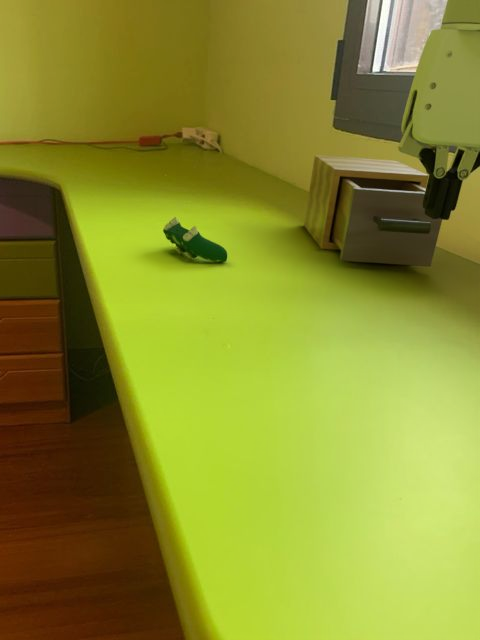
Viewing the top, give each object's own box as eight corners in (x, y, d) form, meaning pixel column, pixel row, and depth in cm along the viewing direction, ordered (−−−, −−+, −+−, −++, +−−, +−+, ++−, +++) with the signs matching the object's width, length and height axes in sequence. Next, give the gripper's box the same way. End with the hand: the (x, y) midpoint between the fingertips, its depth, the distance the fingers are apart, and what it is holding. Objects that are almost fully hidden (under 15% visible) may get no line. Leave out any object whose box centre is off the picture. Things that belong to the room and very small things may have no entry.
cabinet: (410, 254, 98) (428, 175, 93) (321, 248, 98) (334, 168, 93) (381, 231, 112) (396, 160, 107) (303, 225, 112) (314, 155, 107)
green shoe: (180, 260, 95) (153, 230, 91) (198, 239, 95) (173, 208, 91) (212, 278, 88) (185, 247, 84) (232, 256, 87) (206, 223, 84)
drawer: (442, 276, 85) (461, 201, 81) (348, 269, 85) (363, 195, 81) (399, 240, 102) (413, 177, 98) (320, 235, 102) (331, 172, 98)
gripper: (546, 23, 68) (492, 215, 76) (395, 12, 68) (357, 205, 76) (586, 19, 61) (521, 229, 70) (418, 6, 61) (374, 219, 69)
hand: (436, 216), depth 73 cm, fingers closed
